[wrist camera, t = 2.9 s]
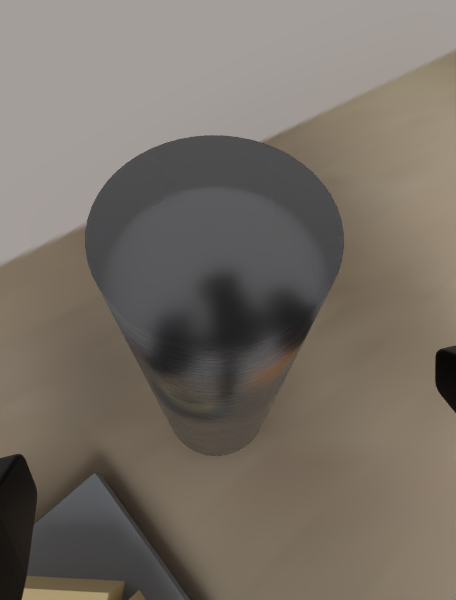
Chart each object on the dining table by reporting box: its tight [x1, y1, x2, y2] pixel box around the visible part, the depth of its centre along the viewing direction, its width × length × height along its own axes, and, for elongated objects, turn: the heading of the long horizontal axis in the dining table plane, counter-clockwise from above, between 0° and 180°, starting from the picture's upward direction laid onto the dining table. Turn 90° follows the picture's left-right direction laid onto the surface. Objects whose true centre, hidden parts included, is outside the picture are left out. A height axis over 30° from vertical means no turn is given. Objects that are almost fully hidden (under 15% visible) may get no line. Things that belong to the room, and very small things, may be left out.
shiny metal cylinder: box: [85, 136, 344, 456], centre depth 13 cm, size 4×4×13 cm
